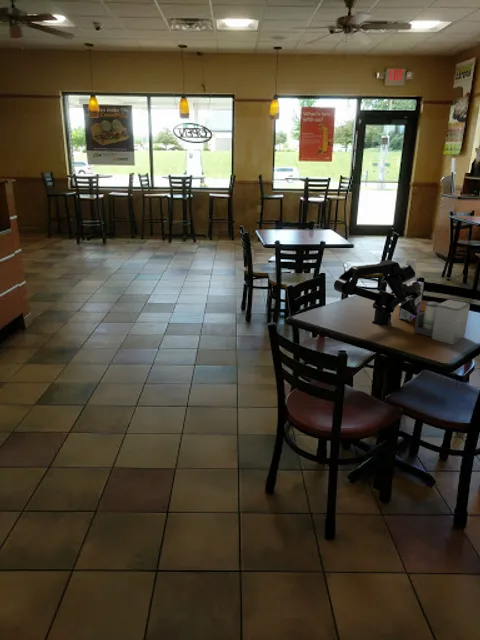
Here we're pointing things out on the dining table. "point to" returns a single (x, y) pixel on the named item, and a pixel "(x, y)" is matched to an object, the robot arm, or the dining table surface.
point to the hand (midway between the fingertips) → (416, 315)
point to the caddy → (450, 321)
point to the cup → (429, 315)
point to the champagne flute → (413, 265)
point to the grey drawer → (421, 325)
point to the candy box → (408, 316)
